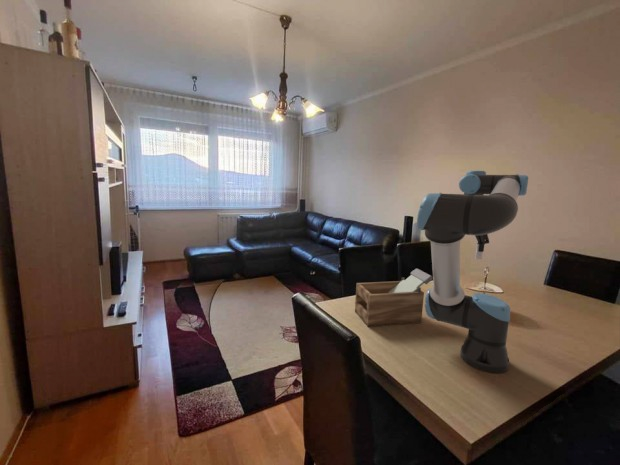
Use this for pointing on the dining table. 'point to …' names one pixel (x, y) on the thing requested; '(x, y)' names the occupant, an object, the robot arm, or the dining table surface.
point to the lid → (412, 282)
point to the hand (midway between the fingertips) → (466, 255)
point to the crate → (387, 304)
